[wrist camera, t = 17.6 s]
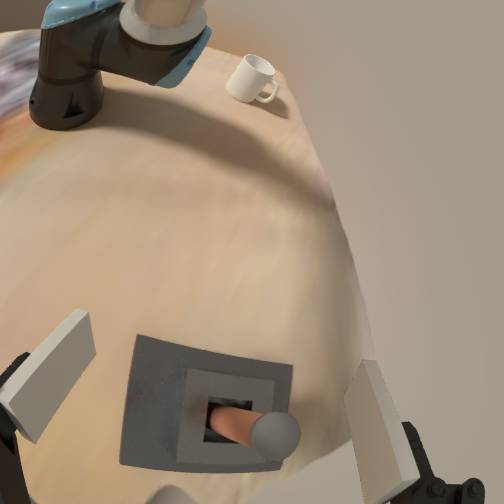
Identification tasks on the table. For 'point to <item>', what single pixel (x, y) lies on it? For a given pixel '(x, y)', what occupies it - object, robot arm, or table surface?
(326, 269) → the table surface
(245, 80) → the cup
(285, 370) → the hitch plate
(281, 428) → the pin
